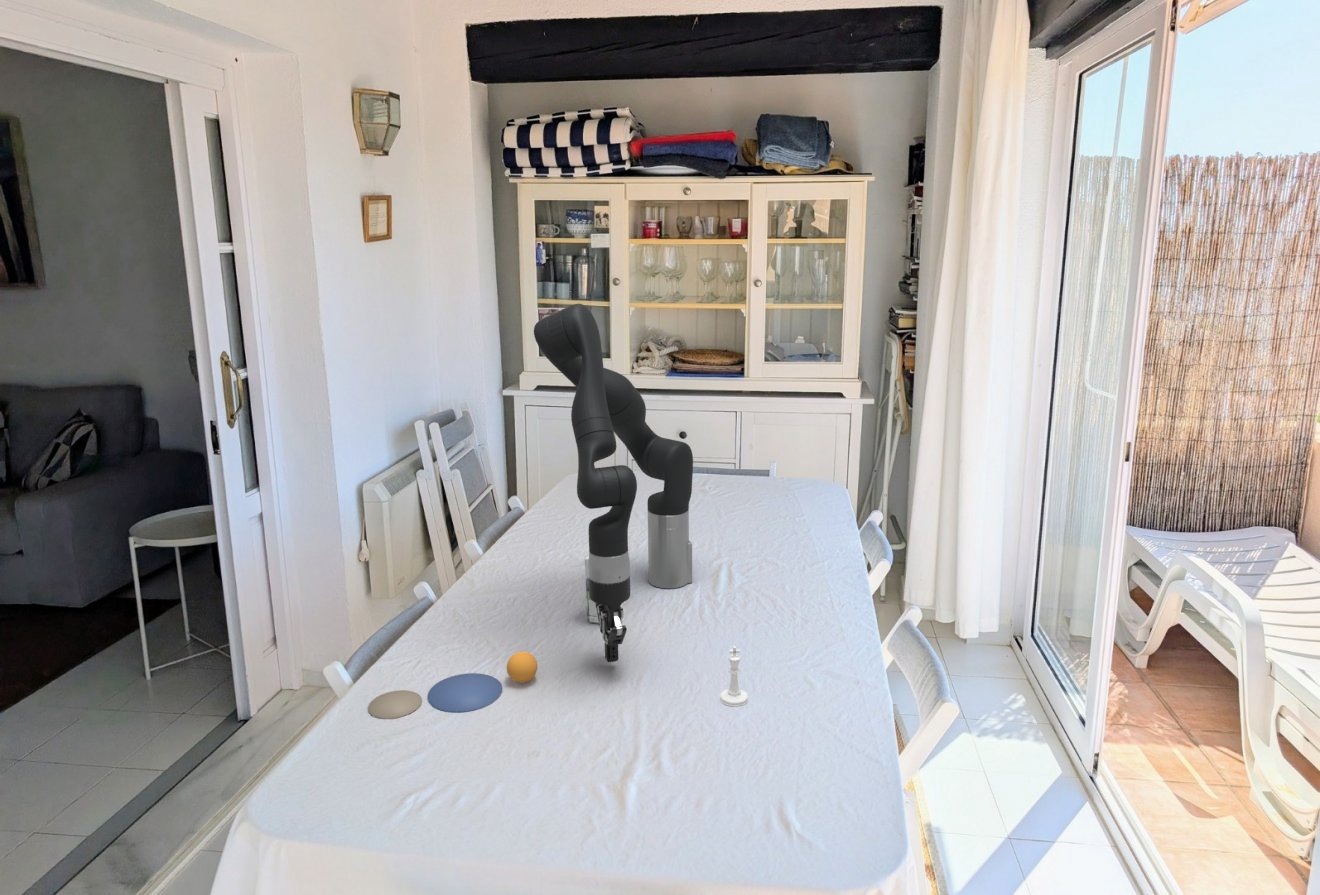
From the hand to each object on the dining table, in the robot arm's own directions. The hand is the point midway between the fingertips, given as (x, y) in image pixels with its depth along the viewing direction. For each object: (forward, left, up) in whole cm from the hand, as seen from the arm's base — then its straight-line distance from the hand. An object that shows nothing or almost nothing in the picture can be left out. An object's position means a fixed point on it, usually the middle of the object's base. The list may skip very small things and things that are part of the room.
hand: (611, 659), depth 170 cm
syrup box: (-4, -20, -2) cm, 20 cm away
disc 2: (+27, 0, -2) cm, 27 cm away
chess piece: (-17, +18, -2) cm, 25 cm away
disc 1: (+39, 0, -2) cm, 39 cm away
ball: (+17, -1, +1) cm, 17 cm away
